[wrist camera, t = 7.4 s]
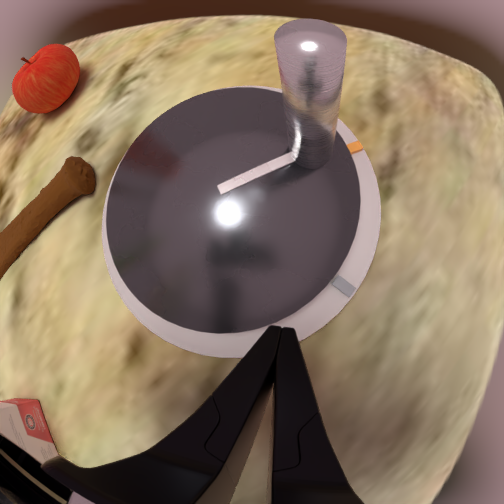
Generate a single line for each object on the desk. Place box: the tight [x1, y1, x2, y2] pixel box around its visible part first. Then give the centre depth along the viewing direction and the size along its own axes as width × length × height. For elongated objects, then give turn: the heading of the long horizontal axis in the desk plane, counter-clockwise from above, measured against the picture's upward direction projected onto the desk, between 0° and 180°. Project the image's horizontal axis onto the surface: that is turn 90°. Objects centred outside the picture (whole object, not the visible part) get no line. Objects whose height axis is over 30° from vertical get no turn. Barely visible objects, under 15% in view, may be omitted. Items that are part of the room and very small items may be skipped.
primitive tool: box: [0, 156, 95, 280], centre depth 20 cm, size 19×6×4 cm, turn 118°
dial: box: [106, 19, 361, 334], centre depth 12 cm, size 15×15×9 cm
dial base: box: [102, 86, 381, 358], centre depth 17 cm, size 18×18×1 cm
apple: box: [12, 44, 80, 113], centre depth 20 cm, size 8×8×8 cm
